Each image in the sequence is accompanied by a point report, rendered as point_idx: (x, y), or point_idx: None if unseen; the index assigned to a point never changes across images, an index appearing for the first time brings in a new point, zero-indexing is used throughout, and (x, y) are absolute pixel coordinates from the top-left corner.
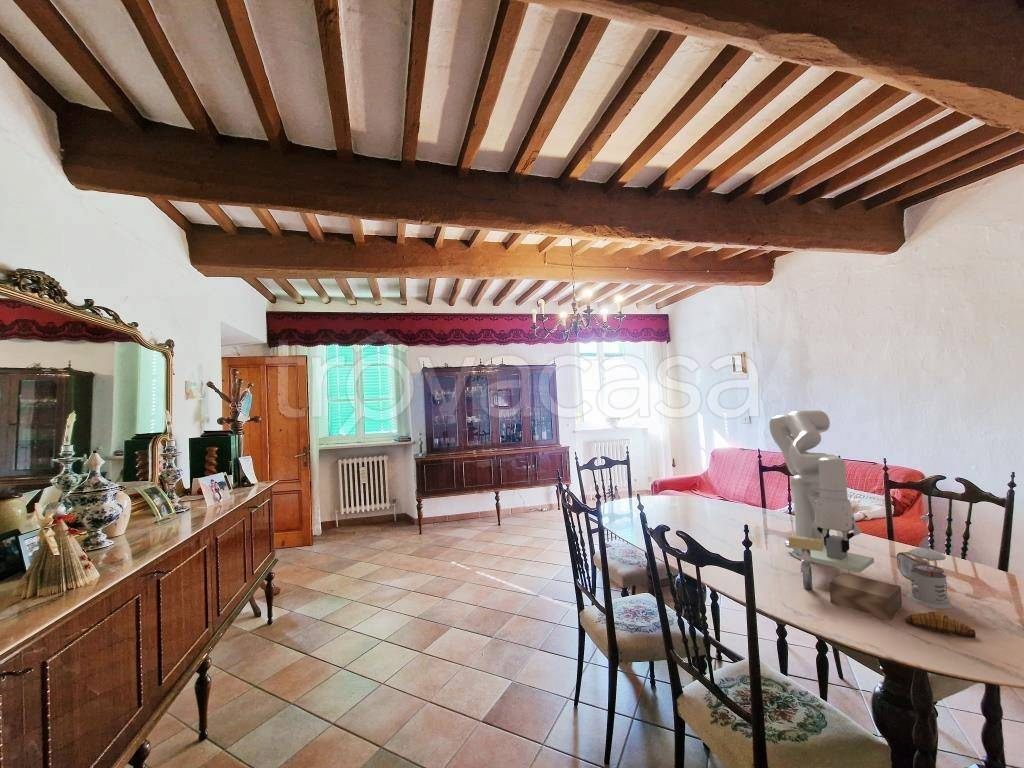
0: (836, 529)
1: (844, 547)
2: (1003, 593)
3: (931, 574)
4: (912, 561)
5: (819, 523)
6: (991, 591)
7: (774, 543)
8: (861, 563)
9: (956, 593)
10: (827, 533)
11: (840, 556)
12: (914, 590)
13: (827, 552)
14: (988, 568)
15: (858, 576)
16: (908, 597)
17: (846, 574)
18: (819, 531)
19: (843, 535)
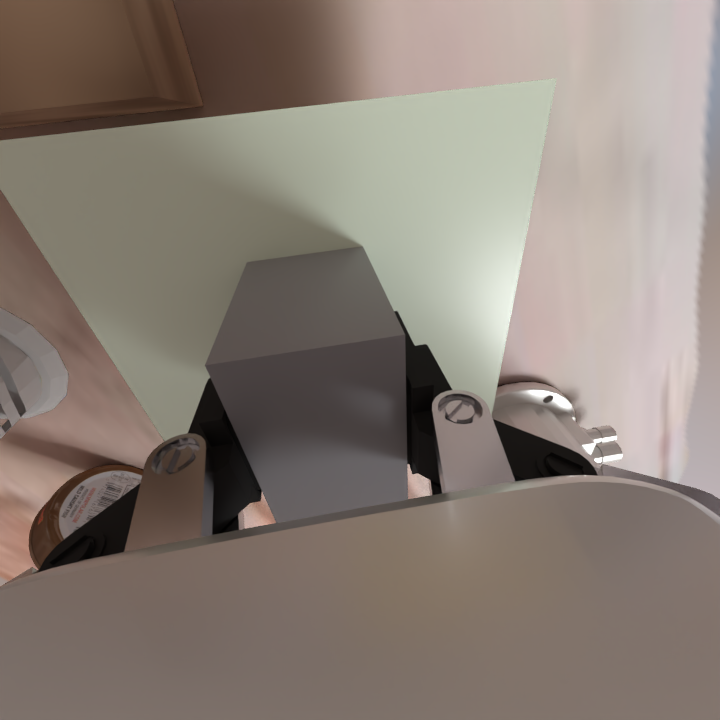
0: (210, 548)
1: None
2: (14, 566)
3: (39, 519)
4: None
5: (680, 567)
6: None
7: (635, 455)
8: (107, 308)
9: (39, 490)
10: (437, 467)
11: (247, 273)
12: (32, 384)
13: (362, 261)
14: None
15: (3, 86)
16: (28, 325)
17: (88, 41)
18: (537, 439)
19: (187, 493)
